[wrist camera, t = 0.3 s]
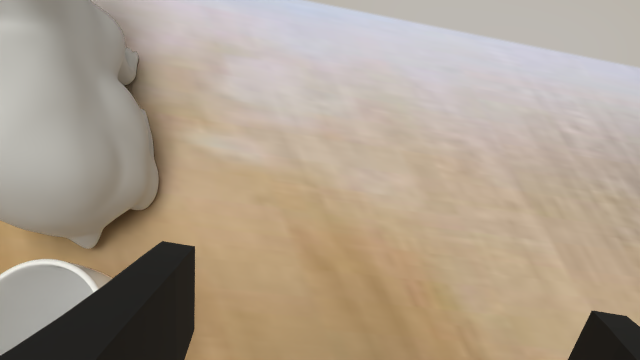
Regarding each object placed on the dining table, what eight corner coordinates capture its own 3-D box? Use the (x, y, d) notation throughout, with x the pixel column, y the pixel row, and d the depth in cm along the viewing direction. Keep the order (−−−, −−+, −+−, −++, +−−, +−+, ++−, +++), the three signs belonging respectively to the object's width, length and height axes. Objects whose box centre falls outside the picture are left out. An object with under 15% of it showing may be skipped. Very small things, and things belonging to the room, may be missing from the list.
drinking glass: (86, 301, 40) (-45, 277, 25) (176, 278, 40) (96, 241, 26) (99, 395, 38) (-36, 427, 23) (192, 369, 38) (117, 384, 24)
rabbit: (163, 15, 47) (3, -325, 23) (173, 243, 41) (-29, 101, 17) (31, 29, 47) (-270, -303, 23) (22, 262, 40) (-402, 143, 17)
